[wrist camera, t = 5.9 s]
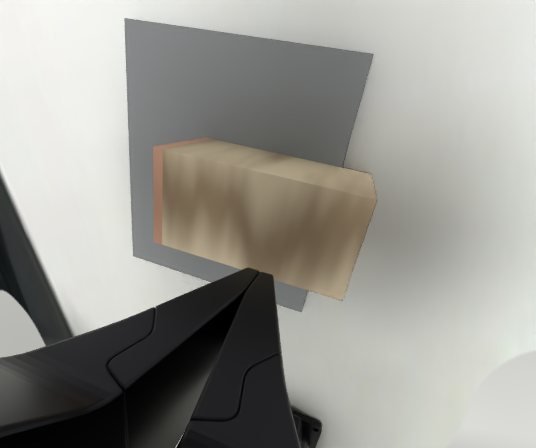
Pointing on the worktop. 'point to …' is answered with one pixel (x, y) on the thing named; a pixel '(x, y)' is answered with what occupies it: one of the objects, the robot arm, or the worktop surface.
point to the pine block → (262, 211)
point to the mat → (232, 113)
